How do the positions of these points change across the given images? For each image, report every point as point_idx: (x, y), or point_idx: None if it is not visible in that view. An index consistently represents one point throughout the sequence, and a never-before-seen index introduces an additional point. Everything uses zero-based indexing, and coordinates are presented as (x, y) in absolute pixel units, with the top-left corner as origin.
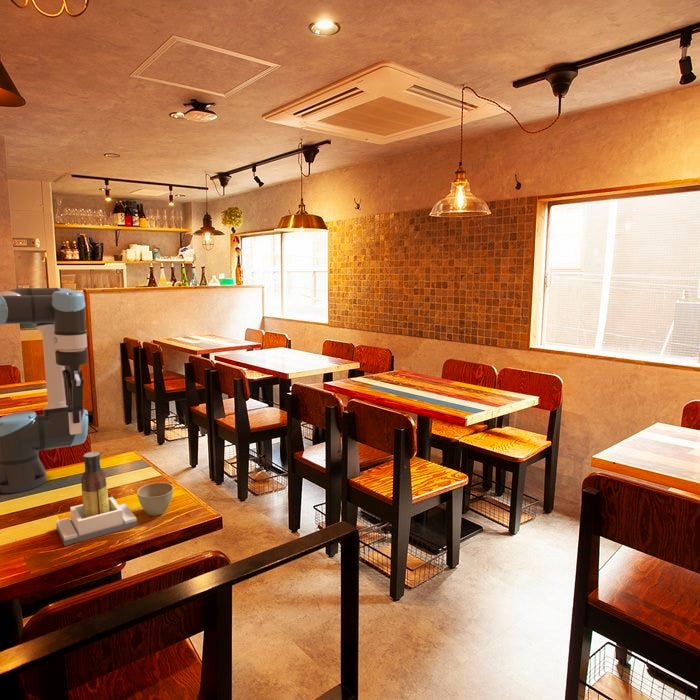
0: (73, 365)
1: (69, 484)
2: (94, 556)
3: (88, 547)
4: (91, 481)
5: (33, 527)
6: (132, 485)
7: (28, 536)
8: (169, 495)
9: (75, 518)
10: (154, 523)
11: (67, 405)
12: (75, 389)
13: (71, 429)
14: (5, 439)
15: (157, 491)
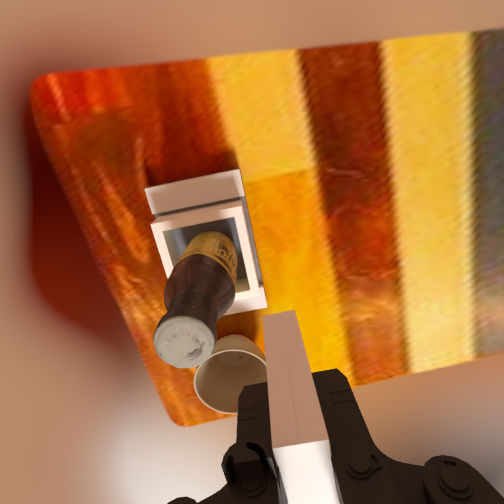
0: None
1: (480, 190)
2: (89, 239)
3: (129, 229)
4: (164, 292)
5: (268, 116)
6: (389, 318)
7: (225, 108)
8: (207, 399)
9: (182, 216)
10: None
11: (424, 469)
12: None
13: (264, 339)
14: None
15: (264, 375)
